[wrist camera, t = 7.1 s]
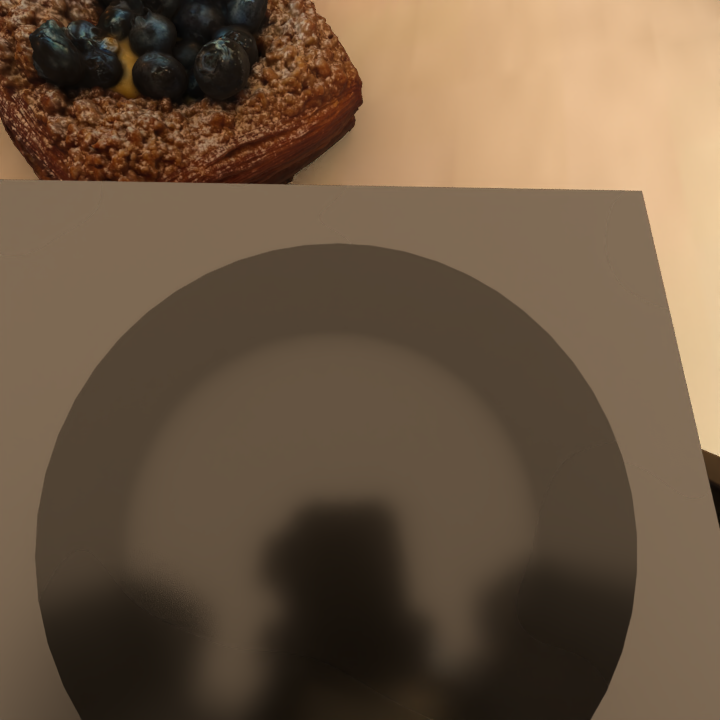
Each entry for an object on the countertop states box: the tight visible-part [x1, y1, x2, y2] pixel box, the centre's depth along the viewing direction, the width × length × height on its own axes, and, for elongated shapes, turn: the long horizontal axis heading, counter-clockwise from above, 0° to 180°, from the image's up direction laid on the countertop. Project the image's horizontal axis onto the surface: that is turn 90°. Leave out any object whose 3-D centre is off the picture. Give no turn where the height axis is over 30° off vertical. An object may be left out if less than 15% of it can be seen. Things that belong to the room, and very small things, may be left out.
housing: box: [0, 179, 720, 720], centre depth 9 cm, size 5×5×14 cm
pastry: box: [0, 0, 363, 185], centre depth 22 cm, size 11×12×6 cm
